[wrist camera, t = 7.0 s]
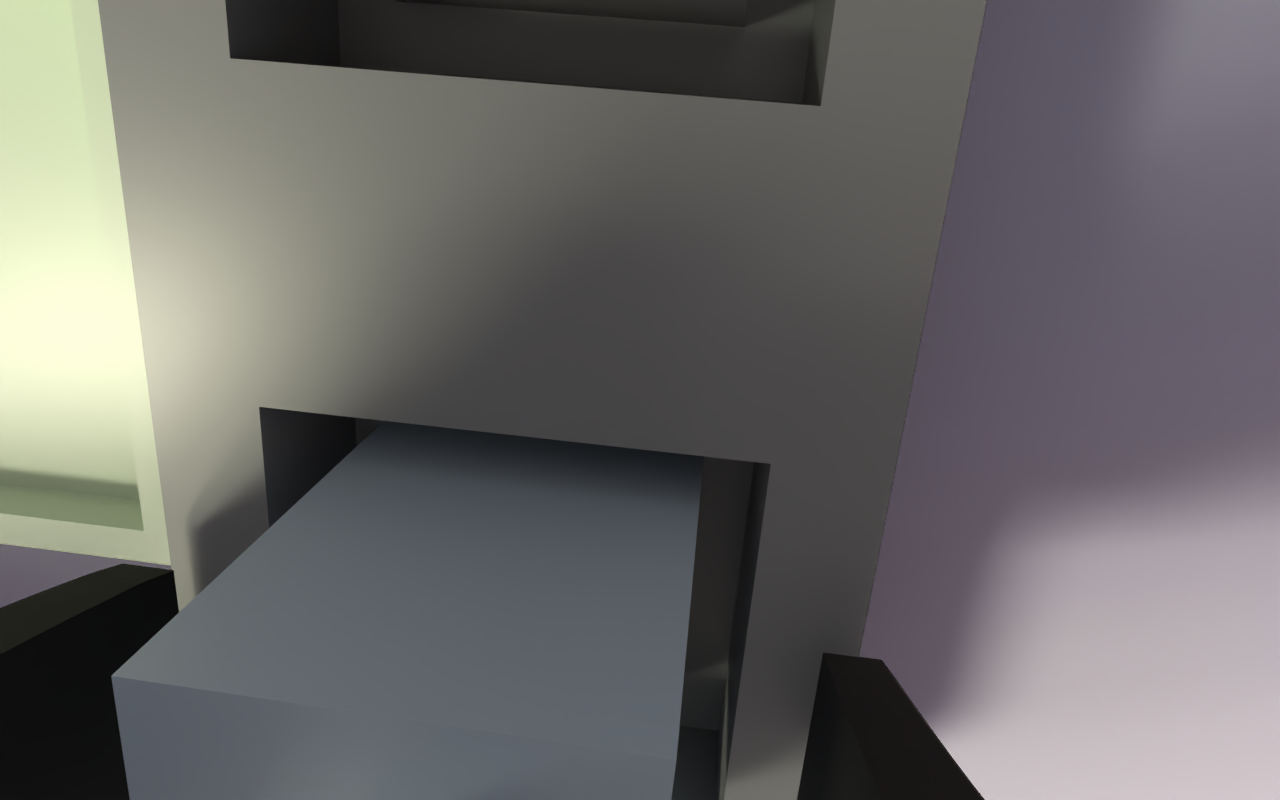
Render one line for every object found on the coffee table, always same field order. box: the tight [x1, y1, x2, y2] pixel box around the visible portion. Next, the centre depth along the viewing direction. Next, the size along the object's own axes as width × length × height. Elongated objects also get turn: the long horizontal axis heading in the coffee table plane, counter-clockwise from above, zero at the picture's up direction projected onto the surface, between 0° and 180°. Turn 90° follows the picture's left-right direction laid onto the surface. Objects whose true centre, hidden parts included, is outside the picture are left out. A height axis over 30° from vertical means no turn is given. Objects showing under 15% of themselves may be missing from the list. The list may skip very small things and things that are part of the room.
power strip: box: [98, 0, 987, 800], centre depth 10 cm, size 8×17×3 cm, turn 176°
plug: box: [111, 421, 704, 800], centre depth 9 cm, size 4×4×8 cm
